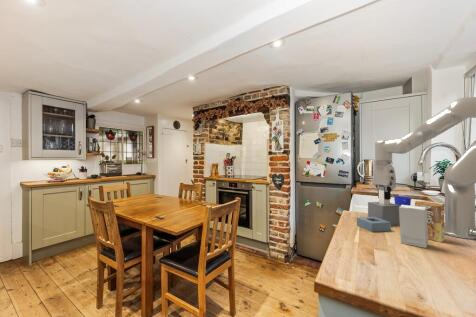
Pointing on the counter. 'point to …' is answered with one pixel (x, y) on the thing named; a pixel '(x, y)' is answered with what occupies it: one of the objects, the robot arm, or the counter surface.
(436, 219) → the candy box
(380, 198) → the plug
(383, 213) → the raised socket block
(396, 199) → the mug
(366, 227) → the low socket block
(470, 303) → the counter surface
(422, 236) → the skincare box
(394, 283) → the counter surface
